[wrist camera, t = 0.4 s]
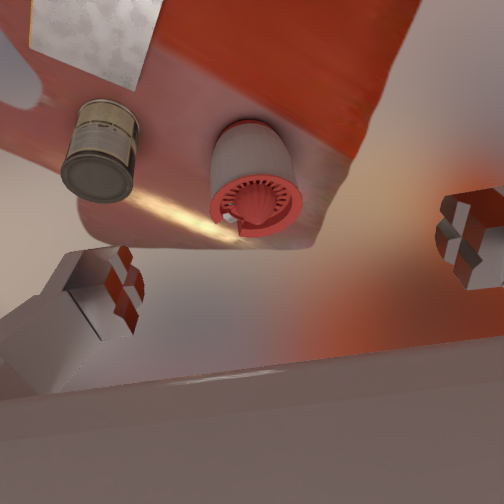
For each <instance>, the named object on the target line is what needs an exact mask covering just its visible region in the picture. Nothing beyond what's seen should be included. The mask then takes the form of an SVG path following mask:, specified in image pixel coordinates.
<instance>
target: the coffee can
mask: <svg viewBox="0 0 504 504" xmlns="http://www.w3.org/2000/svg"><path fill="white" fill-rule="evenodd" d="M139 132H140V129H139V124H138V121H137V119H136V117H135V116H134V114H133V113H132V112H131V111H130V110H129V109H127V108H126V107H125V106H123V105H121V104H120V103H117V102H115V101H112V100H107V99H96V100H92V101H89V102H87V103H85V104H84V105H83V106H82V107H81V109H80V110H79V113H78V118H77V121H76V125H75V128H74V131H73V134H72V138H71V141H70V144H69V148H68V151H67V155H66V158H65V161H64V163H63V165H62V167H61V178H62V181H63V183H64V184H65V185H66V187H67V188H68V189H69V190H70V191H71V192H73V193H74V194H75V195H77V196H78V197H80V198H82V199H85V200H88V201H91V202H95V203H103V204H108V203H115V202H119V201H121V200H123V199H125V198H126V197H128V196H129V194H130V193H131V191H132V188H133V175H134V167H135V159H136V152H137V144H138V137H139Z"/></svg>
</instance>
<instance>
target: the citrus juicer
mask: <svg viewBox="0 0 504 504" xmlns="http://www.w3.org/2000/svg"><path fill="white" fill-rule="evenodd" d="M210 184H211V204H210V214H211V217H212V219H213V221H214V222H215V224H217V223H218V222H219V221H221V220H222V219H223V218H224V219H226V220H227V222H228V223H232V222H234V221H237V224H238V232H239V236H241V237H262V236H267V235H271V234H274V233H276V232H279V231H281V230H283V229H284V228H286V227H287V226H289V225H290V224H291V223H292V222H293V221H294V220H295V219H296V218H297V217H298V215H299V213H300V211H301V208H302V196H301V193H300V191H299V190H298V186H297V182H296V178H295V173H294V169H293V165H292V161H291V158H290V155H289V152H288V150H287V148H286V147H285V145H284V143H283V141H282V140H281V139H280V137H279V135H278V134H277V133H276V132H275V131H274V130H273V129H272V128H271V127H270V126H268V125H267V124H265V123H263V122H260V121H256V120H243V121H239V122H236V123H234V124H232V125H230V126H229V127H227V128H226V129H225V130H224V131H223V133H222V134H221V135H220V137H219V139H218V141H217V142H216V145H215V148H214V151H213V155H212V159H211V166H210Z"/></svg>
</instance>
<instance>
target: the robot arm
mask: <svg viewBox="0 0 504 504" xmlns="http://www.w3.org/2000/svg"><path fill="white" fill-rule="evenodd" d="M440 212H441V213H442V215H443V216H444V218H443V219H442V220H441V221H440V222H439V223H438V225H437V226H436V233H435V242H436V247H437V250H438V252H439V254H440V256H441V257H442V258H443V259H444V260H445V261H447V262H449V263H451V264H453V265H454V268H453V273H454V274H455V276H456V277H457V278H458V280H459V281H460V282H461V284H462V285H463V286H464V288H465V289H466V290H473V289H482V288H491V287H500V286H504V185H502V186H497V187H492V188H487V189H482V190H476V191H471V192H465V193H459V194H453V195H448V196H445V197H444V199H443V200H442V203H441V207H440ZM132 259H133V256H132V254H131V252H130V250H129V248H128V247H127V246H125V245H117V246H109V247H102V248H95V249H88V250H80V251H74V252H69V253H67V254H65V255H64V256H63V258H62V260H61V261H60V263H59V264H58V266H57V268H56V269H55V271H54V273H53V274H52V276H51V277H50V279H49V281H48V282H47V284H46V285H45V287H44V289H43V290H42V292H41V294H40V295H35V296H33V297H31V298H30V299H28V300H27V301H25V302H24V303H23V304H21V305H20V306H18V307H17V308H15V309H14V310H13V311H11V312H10V313H8V314H7V315H5V316H4V317H3V318H1V319H0V504H504V336H499V337H491V338H483V339H475V340H468V341H459V342H451V343H445V344H444V343H443V344H437V345H428V346H420V347H412V348H404V349H396V350H388V351H381V352H373V353H365V354H357V355H350V356H343V357H335V358H326V359H318V360H310V361H304V362H295V363H288V364H279V365H272V366H264V367H256V368H249V369H241V370H233V371H225V372H217V373H210V374H202V375H195V376H187V377H178V378H172V379H171V378H170V379H163V380H156V381H147V382H140V383H132V384H124V385H116V386H109V387H100V388H93V389H85V390H77V391H69V392H62V393H58V392H59V391H60V390H61V389H62V388H63V386H64V385H65V384H66V383H67V382H68V381H69V380H70V379H71V377H72V376H73V375H74V374H75V373H76V372H77V370H78V369H79V368H80V367H81V366H82V365H83V364H84V362H85V361H86V360H87V359H88V358H89V357H90V355H91V354H92V353H93V352H94V351H95V350H96V349H97V347H98V346H99V345H100V344H101V341H105V340H111V339H117V338H123V337H129V336H133V335H134V331H135V328H136V324H137V321H138V317H139V315H138V313H137V311H136V309H137V308H138V307H139V306H140V305H141V304H142V303H143V299H144V281H143V277H142V275H141V273H140V270H139V269H137V268H136V267H134V266H133V265H131V262H132ZM503 288H504V287H503Z"/></svg>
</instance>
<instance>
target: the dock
mask: <svg viewBox="0 0 504 504" xmlns="http://www.w3.org/2000/svg"><path fill="white" fill-rule="evenodd" d="M162 2H163V0H32V2H31V19H30V36H29V47H30V49H33V50H35V51H38V52H40V53H42V54H45V55H47V56H50V57H52V58H55V59H57V60H59V61H62V62H64V63H67V64H69V65H71V66H74V67H76V68H79V69H81V70H84V71H86V72H88V73H91V74H93V75H96V76H98V77H100V78H103V79H105V80H108V81H110V82H113V83H115V84H117V85H120V86H122V87H125V88H127V89H129V90H132V91H134V92H135V88H136V85H137V82H138V79H139V76H140V72H141V69H142V66H143V63H144V60H145V56H146V53H147V50H148V47H149V44H150V40H151V37H152V34H153V31H154V27H155V24H156V21H157V18H158V15H159V11H160V8H161V5H162Z"/></svg>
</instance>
